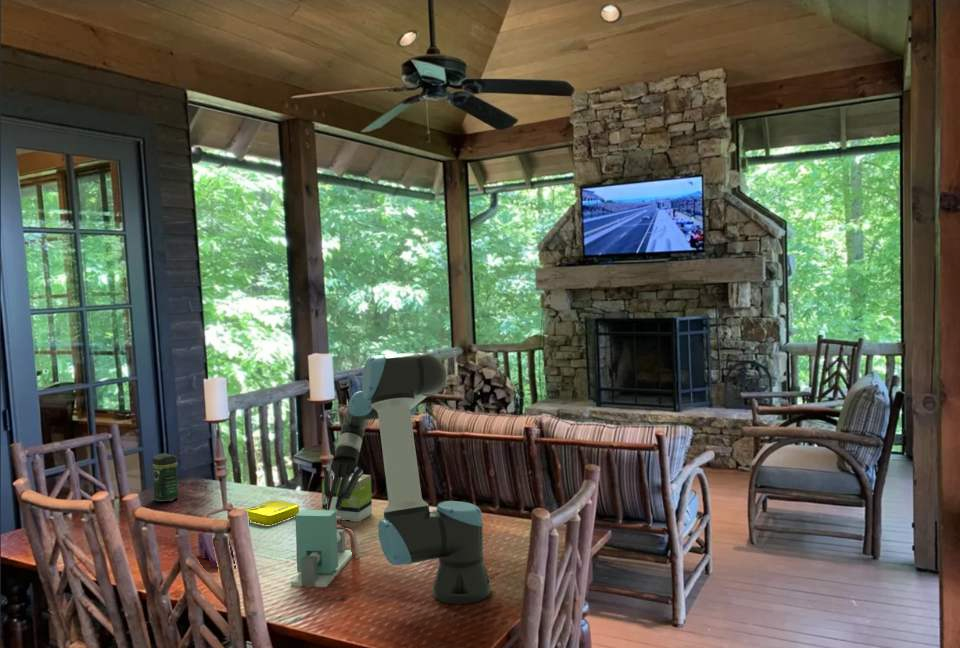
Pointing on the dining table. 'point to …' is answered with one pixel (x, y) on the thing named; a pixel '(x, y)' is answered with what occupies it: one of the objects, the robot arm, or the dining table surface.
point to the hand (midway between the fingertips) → (331, 518)
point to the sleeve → (317, 538)
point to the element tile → (272, 512)
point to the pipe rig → (309, 566)
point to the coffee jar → (165, 476)
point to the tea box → (354, 500)
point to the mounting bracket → (209, 548)
